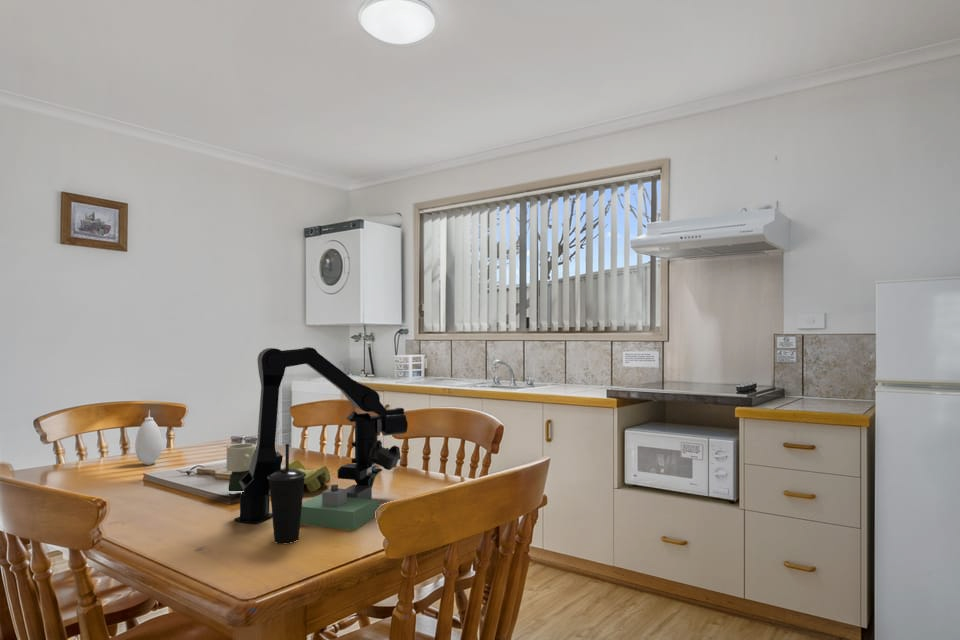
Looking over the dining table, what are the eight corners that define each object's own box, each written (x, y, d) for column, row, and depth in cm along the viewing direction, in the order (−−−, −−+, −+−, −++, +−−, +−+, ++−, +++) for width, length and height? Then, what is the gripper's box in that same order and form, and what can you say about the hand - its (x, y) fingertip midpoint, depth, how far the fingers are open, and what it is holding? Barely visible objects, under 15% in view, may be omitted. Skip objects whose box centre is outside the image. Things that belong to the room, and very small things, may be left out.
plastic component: (270, 475, 176) (300, 456, 182) (282, 497, 178) (311, 477, 184) (297, 483, 161) (329, 462, 167) (310, 507, 162) (340, 485, 168)
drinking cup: (266, 548, 123) (267, 448, 123) (268, 536, 130) (268, 442, 131) (305, 544, 125) (306, 446, 126) (305, 532, 133) (306, 440, 133)
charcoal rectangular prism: (357, 514, 146) (357, 493, 146) (339, 512, 147) (339, 492, 147) (371, 506, 152) (371, 486, 152) (354, 504, 154) (353, 484, 154)
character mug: (261, 496, 162) (262, 446, 163) (234, 500, 158) (235, 450, 158) (246, 488, 170) (246, 441, 171) (219, 492, 166) (220, 444, 166)
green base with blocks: (353, 530, 134) (353, 492, 134) (294, 523, 139) (295, 487, 139) (388, 509, 150) (388, 475, 150) (335, 503, 155) (335, 471, 155)
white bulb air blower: (159, 461, 206) (159, 407, 207) (164, 465, 200) (164, 409, 201) (133, 464, 202) (133, 409, 202) (137, 468, 195) (138, 411, 196)
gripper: (377, 446, 144) (378, 513, 144) (410, 432, 162) (410, 491, 162) (336, 444, 147) (336, 508, 147) (372, 430, 165) (373, 488, 165)
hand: (366, 498), depth 155 cm, fingers closed
